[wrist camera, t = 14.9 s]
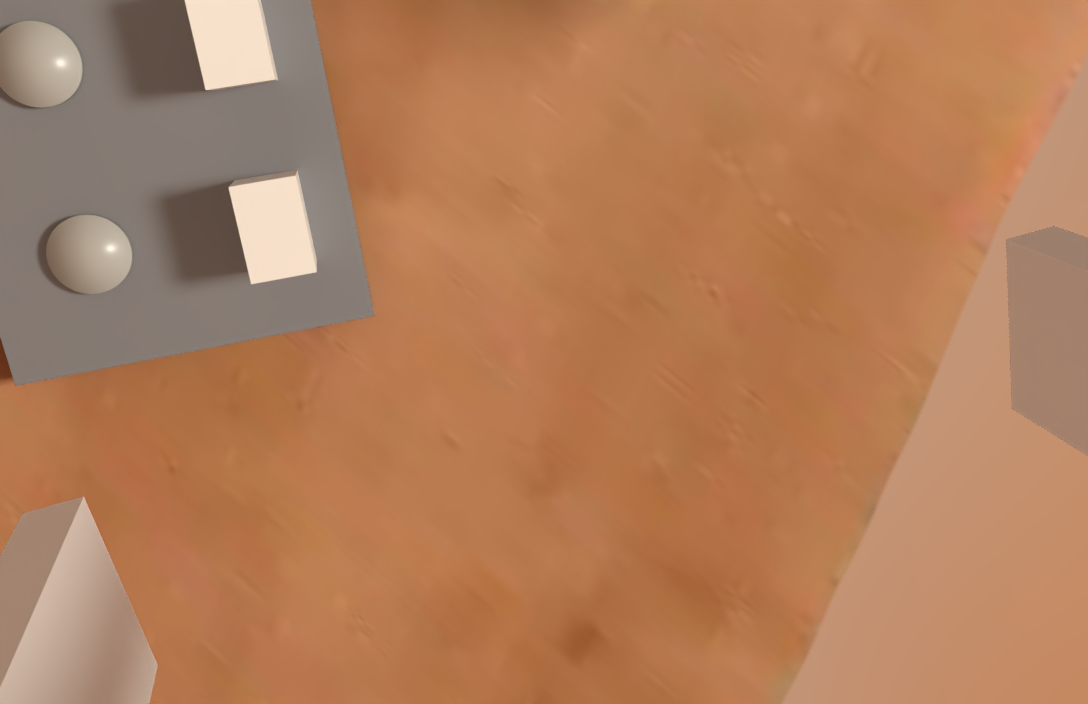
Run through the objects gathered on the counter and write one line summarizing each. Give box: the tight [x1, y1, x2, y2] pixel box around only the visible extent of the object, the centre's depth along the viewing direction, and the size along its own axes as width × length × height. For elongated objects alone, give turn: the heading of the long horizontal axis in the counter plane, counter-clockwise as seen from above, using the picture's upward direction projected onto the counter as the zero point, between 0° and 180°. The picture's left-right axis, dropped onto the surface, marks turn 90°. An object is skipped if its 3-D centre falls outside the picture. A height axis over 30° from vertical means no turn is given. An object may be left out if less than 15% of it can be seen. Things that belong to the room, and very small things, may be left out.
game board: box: [0, 0, 375, 386], centre depth 37 cm, size 14×23×4 cm, turn 8°
